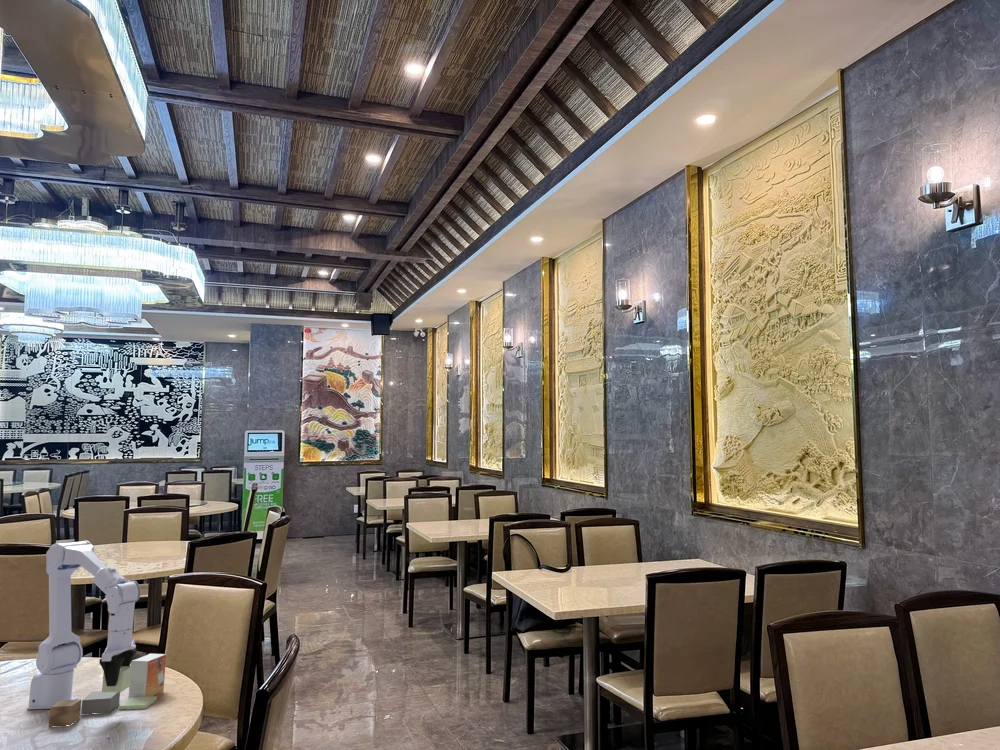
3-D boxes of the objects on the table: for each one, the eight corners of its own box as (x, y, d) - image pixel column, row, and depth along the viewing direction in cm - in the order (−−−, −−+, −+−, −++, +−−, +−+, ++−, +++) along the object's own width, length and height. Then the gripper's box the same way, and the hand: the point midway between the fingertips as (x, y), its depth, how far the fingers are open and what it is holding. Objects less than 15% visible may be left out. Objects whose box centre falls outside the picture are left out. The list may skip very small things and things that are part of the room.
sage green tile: (118, 709, 179) (118, 705, 179) (130, 700, 186) (130, 697, 186) (145, 708, 180) (145, 704, 180) (156, 700, 187) (156, 696, 187)
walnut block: (48, 727, 167) (50, 706, 168) (59, 720, 172) (61, 700, 173) (69, 726, 167) (71, 706, 168) (79, 719, 172) (81, 699, 173)
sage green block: (101, 692, 172) (103, 672, 173) (110, 686, 177) (112, 666, 178) (121, 691, 173) (123, 671, 173) (130, 685, 178) (132, 666, 178)
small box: (144, 700, 186) (147, 661, 188) (127, 699, 187) (130, 660, 189) (164, 691, 194) (166, 653, 196) (147, 690, 195) (150, 652, 197)
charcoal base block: (80, 716, 175) (82, 700, 176) (91, 707, 182) (92, 691, 183) (109, 714, 177) (110, 698, 177) (119, 705, 183) (120, 689, 184)
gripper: (124, 635, 170) (119, 690, 168) (147, 622, 185) (143, 673, 183) (95, 636, 170) (90, 691, 168) (121, 623, 184) (117, 674, 182)
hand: (116, 682), depth 175 cm, fingers closed on sage green block, 5 cm apart
